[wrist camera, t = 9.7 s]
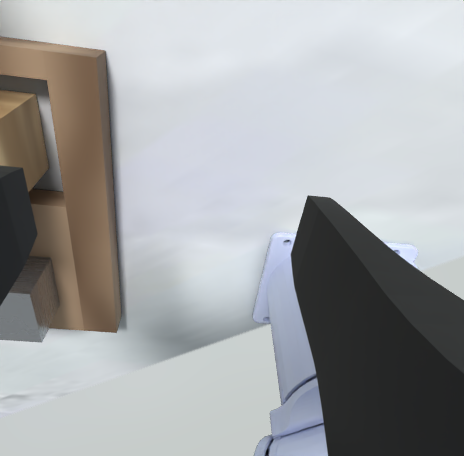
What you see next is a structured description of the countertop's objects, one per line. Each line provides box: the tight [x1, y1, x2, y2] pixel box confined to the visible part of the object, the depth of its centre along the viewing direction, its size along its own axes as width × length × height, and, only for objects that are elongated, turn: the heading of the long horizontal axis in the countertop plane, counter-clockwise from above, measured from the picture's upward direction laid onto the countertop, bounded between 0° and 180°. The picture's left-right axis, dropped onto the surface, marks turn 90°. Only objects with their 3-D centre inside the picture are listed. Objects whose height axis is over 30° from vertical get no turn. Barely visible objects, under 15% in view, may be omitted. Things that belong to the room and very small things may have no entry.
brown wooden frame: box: [0, 37, 121, 333], centre depth 21 cm, size 11×18×2 cm, turn 173°
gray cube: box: [0, 256, 60, 342], centre depth 22 cm, size 4×4×4 cm
